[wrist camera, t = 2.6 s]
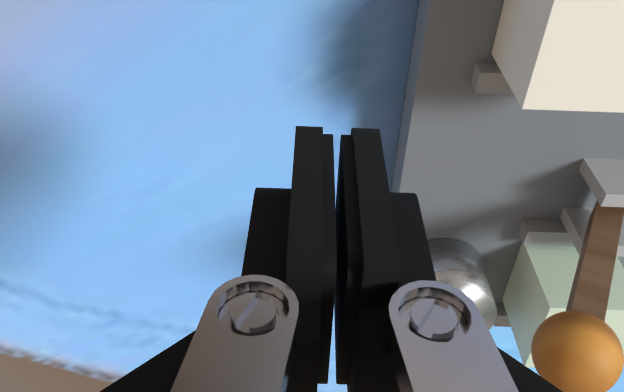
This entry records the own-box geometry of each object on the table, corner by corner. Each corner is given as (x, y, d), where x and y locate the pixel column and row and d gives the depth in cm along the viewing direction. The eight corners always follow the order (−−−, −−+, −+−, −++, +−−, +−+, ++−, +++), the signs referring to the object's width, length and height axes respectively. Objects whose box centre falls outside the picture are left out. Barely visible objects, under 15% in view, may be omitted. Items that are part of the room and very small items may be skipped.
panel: (441, -151, 18) (469, -127, 15) (961, -130, 19) (1107, -102, 15) (377, 281, 31) (384, 348, 27) (688, 291, 31) (734, 359, 28)
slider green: (522, 240, 26) (550, 307, 23) (609, 243, 26) (648, 310, 23) (501, 299, 29) (524, 367, 26) (581, 301, 29) (612, 369, 26)
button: (403, 236, 26) (411, 285, 24) (490, 239, 26) (506, 288, 24) (392, 295, 29) (399, 345, 26) (472, 298, 29) (485, 347, 26)
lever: (587, 164, 24) (536, 339, 16) (656, 183, 23) (633, 378, 15) (567, 212, 25) (513, 391, 18) (631, 232, 24) (600, 429, 17)
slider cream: (519, -65, 18) (562, -26, 15) (645, -61, 18) (713, -20, 15) (491, 53, 21) (522, 108, 17) (601, 57, 21) (652, 113, 17)
